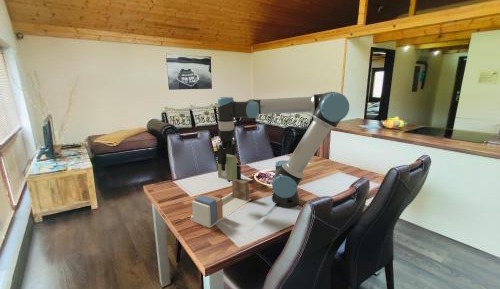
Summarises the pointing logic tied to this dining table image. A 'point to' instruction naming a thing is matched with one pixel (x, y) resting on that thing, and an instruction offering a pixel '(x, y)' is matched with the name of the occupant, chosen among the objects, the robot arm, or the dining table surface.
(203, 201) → the book navy
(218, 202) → the book rust
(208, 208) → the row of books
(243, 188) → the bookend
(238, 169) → the mug
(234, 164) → the book olive
